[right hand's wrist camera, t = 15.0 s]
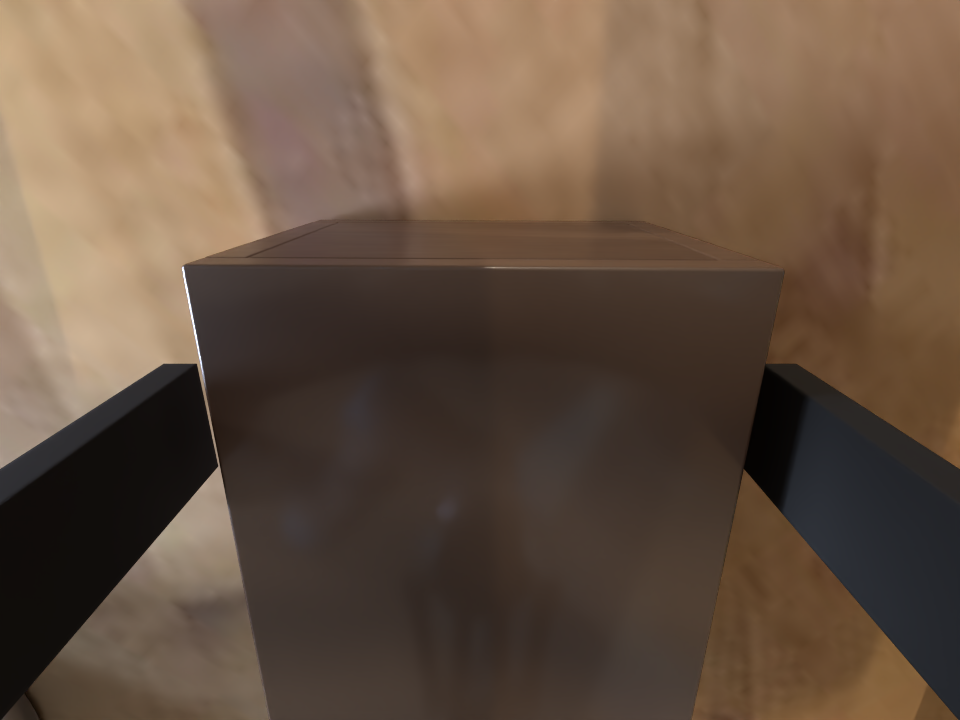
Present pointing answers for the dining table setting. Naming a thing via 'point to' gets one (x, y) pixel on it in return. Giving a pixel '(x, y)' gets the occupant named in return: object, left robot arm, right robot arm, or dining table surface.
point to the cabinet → (481, 460)
